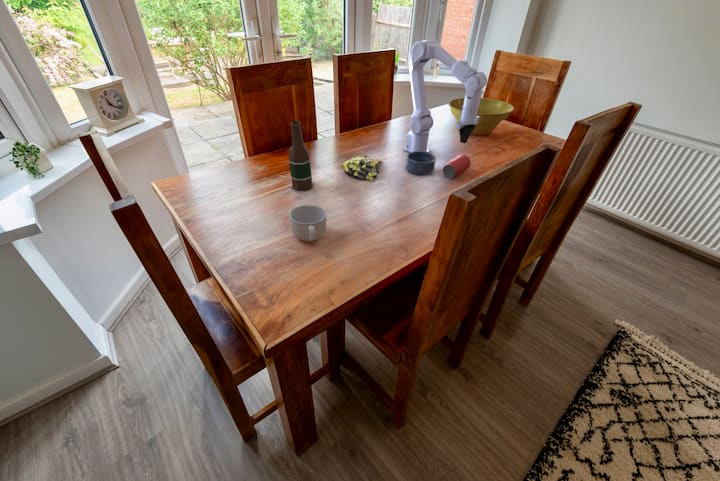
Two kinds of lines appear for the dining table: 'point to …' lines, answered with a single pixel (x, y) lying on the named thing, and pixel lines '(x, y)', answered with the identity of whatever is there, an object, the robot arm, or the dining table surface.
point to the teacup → (308, 222)
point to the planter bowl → (484, 113)
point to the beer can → (456, 166)
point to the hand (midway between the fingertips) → (463, 142)
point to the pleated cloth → (362, 167)
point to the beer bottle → (299, 160)
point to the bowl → (420, 162)
